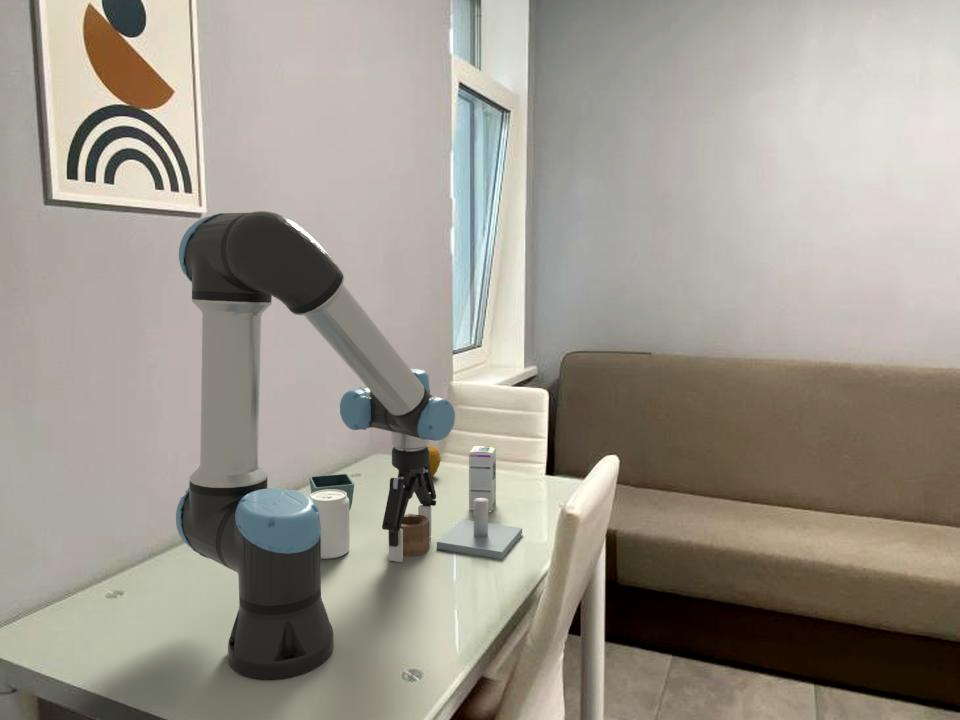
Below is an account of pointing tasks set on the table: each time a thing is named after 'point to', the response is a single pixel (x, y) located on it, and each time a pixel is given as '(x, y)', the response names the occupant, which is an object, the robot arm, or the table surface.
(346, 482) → the flower pot
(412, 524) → the collar
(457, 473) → the table surface
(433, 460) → the apple
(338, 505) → the beverage can
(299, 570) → the robot arm
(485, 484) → the syrup box
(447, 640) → the table surface
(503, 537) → the post block
